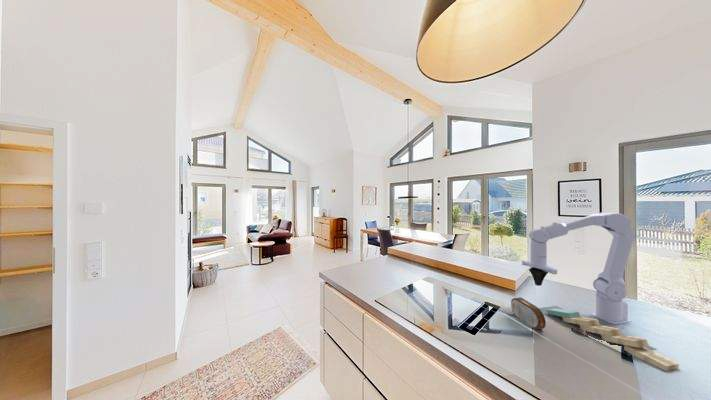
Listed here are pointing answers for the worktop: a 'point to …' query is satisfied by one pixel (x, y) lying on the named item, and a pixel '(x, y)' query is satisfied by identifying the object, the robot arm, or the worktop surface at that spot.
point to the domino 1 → (563, 313)
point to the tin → (528, 313)
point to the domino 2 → (582, 321)
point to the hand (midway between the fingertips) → (538, 285)
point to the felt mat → (578, 326)
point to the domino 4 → (626, 340)
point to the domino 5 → (652, 357)
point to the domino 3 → (602, 330)
